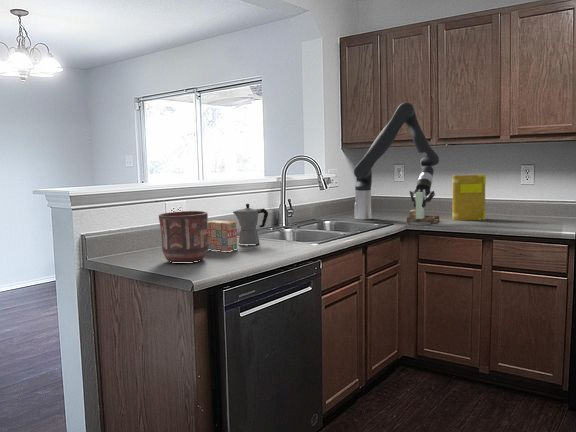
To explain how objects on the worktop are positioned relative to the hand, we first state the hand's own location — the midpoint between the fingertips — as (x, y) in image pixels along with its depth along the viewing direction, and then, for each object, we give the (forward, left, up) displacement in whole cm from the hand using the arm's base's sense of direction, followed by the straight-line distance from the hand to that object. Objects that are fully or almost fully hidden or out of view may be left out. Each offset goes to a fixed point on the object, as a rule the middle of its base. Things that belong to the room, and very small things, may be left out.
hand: (419, 206), depth 274 cm
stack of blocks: (-60, -101, -10) cm, 118 cm away
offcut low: (-6, +13, -8) cm, 17 cm away
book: (+20, +30, -10) cm, 37 cm away
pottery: (-55, -125, -10) cm, 137 cm away
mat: (0, +2, -10) cm, 10 cm away
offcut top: (-6, +13, -6) cm, 16 cm away
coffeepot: (-52, -84, -10) cm, 99 cm away
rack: (-1, +13, -10) cm, 16 cm away
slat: (0, +2, -6) cm, 7 cm away
